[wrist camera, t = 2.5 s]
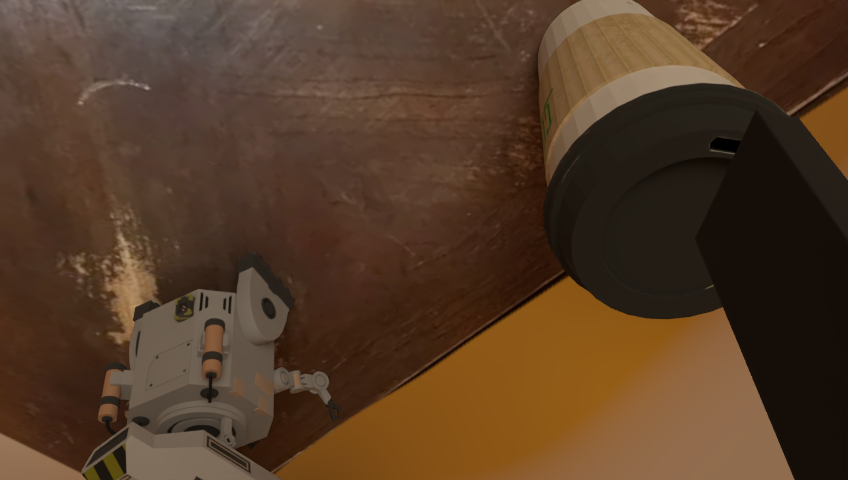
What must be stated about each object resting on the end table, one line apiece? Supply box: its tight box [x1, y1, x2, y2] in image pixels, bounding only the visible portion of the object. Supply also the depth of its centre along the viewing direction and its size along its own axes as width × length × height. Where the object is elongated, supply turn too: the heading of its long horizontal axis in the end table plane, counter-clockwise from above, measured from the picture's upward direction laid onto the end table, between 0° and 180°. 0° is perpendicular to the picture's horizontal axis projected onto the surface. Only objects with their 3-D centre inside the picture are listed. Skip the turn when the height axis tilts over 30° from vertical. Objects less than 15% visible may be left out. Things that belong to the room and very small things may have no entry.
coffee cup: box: [538, 0, 788, 319], centre depth 34 cm, size 10×10×15 cm
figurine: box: [81, 252, 341, 480], centre depth 44 cm, size 9×12×15 cm
